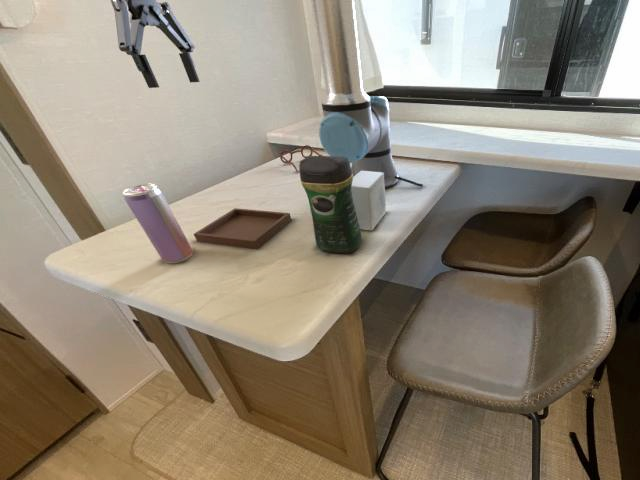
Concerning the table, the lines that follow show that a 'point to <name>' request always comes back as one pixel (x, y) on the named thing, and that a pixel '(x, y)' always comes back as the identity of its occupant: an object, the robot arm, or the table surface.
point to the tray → (243, 228)
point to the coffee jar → (331, 202)
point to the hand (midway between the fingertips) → (175, 84)
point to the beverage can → (158, 222)
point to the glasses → (296, 152)
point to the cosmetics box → (369, 198)
